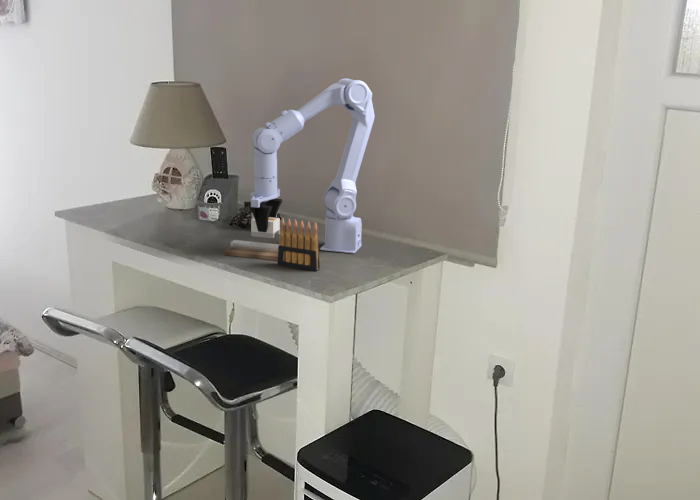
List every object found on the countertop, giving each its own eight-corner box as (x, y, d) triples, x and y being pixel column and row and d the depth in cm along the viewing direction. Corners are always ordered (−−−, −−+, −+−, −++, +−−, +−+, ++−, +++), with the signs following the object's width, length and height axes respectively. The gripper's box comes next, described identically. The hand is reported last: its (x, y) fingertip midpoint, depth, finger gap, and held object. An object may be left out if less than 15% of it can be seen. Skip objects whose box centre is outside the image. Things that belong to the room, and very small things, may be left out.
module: (279, 233, 179) (279, 217, 178) (273, 238, 175) (273, 221, 174) (258, 231, 181) (258, 215, 180) (251, 236, 177) (251, 219, 175)
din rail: (299, 252, 178) (299, 246, 178) (295, 254, 176) (295, 249, 175) (234, 245, 183) (234, 239, 182) (230, 247, 180) (230, 242, 180)
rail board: (305, 252, 181) (305, 248, 181) (293, 262, 173) (293, 258, 173) (238, 245, 186) (238, 241, 186) (223, 254, 178) (223, 251, 177)
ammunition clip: (277, 265, 171) (277, 217, 167) (281, 263, 172) (280, 216, 169) (316, 271, 167) (317, 223, 163) (319, 269, 168) (320, 221, 165)
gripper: (262, 170, 181) (262, 221, 185) (238, 180, 168) (240, 234, 172) (287, 172, 180) (287, 223, 183) (266, 182, 166) (266, 237, 170)
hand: (266, 229), depth 178 cm, fingers closed on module, 4 cm apart
